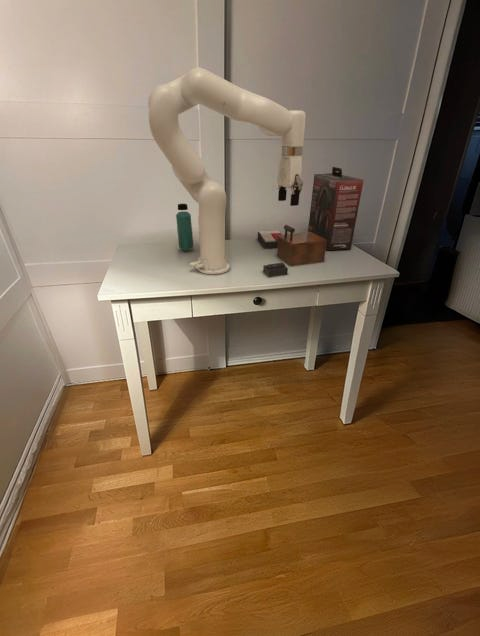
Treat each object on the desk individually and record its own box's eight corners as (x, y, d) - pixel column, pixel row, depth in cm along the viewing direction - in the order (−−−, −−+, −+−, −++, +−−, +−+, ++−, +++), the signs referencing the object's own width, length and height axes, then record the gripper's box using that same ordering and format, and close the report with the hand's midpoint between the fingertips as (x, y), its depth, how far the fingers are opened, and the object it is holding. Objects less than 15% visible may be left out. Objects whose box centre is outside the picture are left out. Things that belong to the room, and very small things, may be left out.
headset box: (305, 236, 161) (314, 164, 144) (328, 234, 163) (339, 164, 146) (326, 251, 140) (339, 170, 123) (351, 250, 142) (367, 170, 125)
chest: (290, 266, 124) (292, 245, 120) (276, 256, 135) (278, 237, 130) (323, 261, 129) (327, 242, 125) (308, 252, 139) (310, 233, 135)
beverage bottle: (195, 252, 138) (192, 204, 128) (180, 253, 136) (176, 206, 126) (191, 247, 143) (188, 201, 133) (177, 249, 141) (173, 203, 131)
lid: (290, 246, 120) (292, 231, 117) (276, 237, 130) (277, 222, 127) (327, 241, 125) (329, 227, 122) (310, 233, 135) (312, 219, 132)
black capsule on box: (269, 277, 115) (269, 266, 113) (263, 271, 119) (263, 261, 117) (287, 274, 117) (288, 264, 115) (280, 269, 122) (281, 259, 119)
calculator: (264, 240, 141) (257, 230, 153) (264, 249, 143) (257, 238, 155) (288, 239, 142) (279, 229, 155) (287, 248, 145) (278, 237, 157)
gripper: (271, 151, 116) (269, 199, 125) (294, 154, 102) (290, 208, 111) (289, 150, 118) (286, 198, 127) (314, 153, 104) (308, 206, 113)
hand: (288, 202), depth 119 cm, fingers open, 9 cm apart
